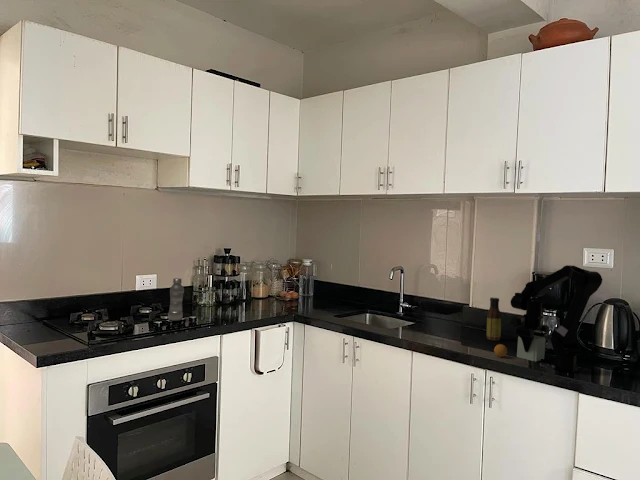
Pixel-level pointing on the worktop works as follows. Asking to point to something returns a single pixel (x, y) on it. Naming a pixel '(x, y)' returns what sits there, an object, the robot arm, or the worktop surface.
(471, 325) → the worktop surface
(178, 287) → the plastic bottle
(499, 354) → the ball
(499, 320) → the sauce bottle
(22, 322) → the worktop surface
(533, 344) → the sage green lidded box
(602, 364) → the worktop surface
